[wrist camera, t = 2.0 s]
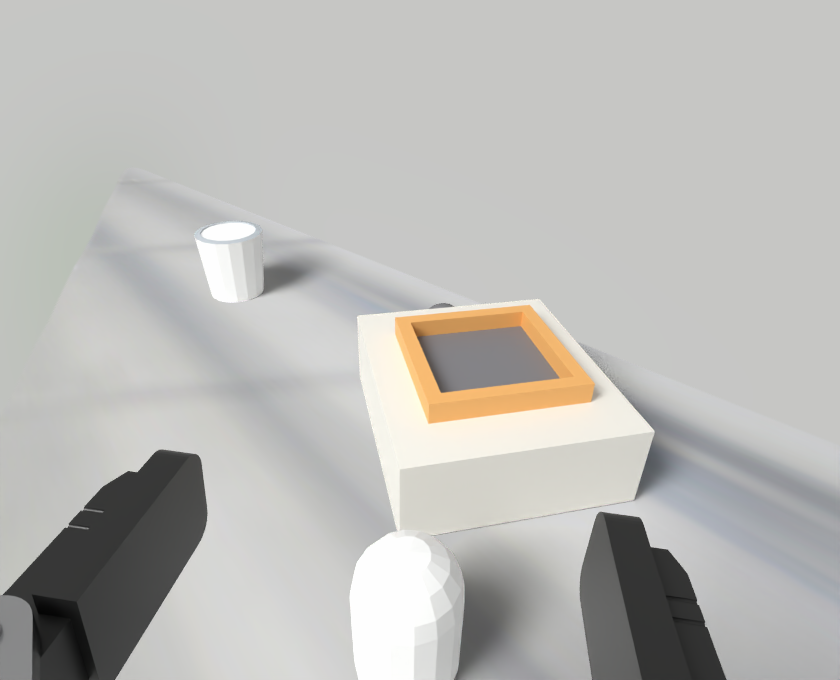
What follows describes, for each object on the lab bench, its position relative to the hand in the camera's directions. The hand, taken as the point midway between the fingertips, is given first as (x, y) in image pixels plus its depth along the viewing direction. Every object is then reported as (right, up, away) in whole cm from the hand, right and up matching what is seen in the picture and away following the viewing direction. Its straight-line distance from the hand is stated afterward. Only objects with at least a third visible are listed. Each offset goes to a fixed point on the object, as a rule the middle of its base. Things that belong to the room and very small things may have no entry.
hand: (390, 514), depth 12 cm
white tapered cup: (-20, +9, +52) cm, 57 cm away
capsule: (0, -13, +18) cm, 22 cm away
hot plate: (+5, -3, +34) cm, 34 cm away
